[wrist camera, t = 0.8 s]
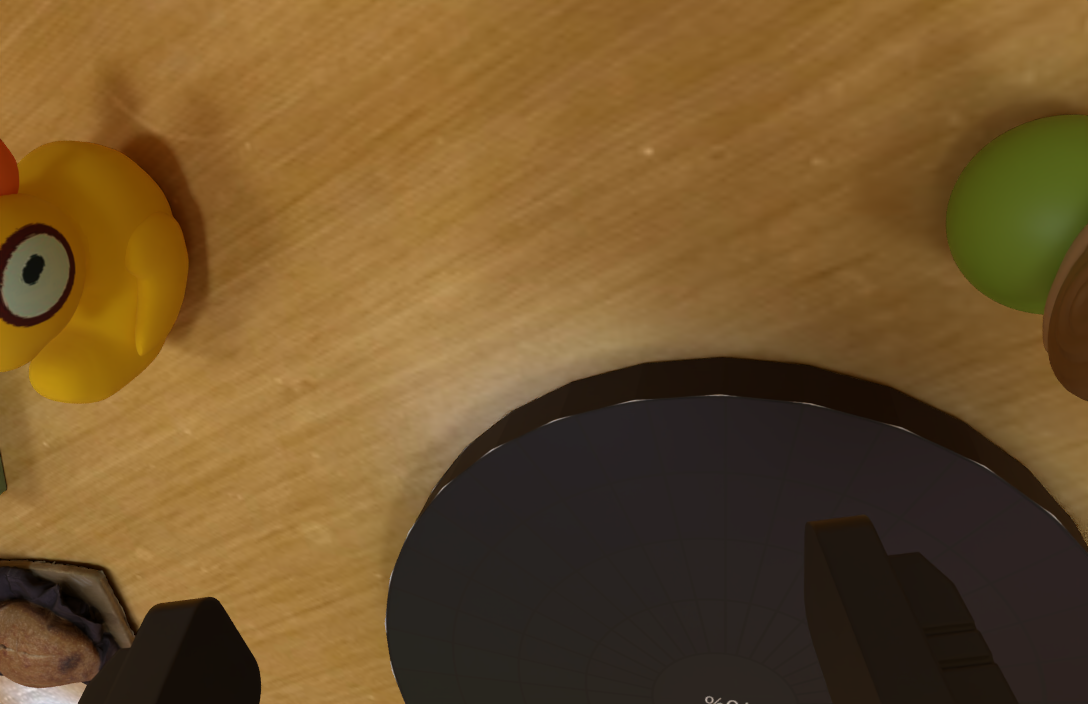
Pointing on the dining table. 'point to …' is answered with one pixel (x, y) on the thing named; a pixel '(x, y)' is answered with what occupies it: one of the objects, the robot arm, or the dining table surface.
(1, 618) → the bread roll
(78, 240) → the duckling
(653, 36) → the dining table surface
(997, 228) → the snail figurine
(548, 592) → the disc
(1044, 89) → the dining table surface
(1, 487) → the green block
